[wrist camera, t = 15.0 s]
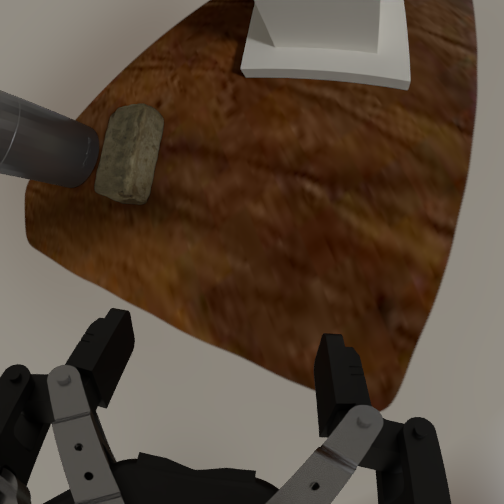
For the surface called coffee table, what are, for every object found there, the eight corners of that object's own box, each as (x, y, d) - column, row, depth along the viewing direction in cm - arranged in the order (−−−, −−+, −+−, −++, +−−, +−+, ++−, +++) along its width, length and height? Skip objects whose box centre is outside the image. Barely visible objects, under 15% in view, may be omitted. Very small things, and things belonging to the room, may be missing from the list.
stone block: (169, 115, 36) (147, 99, 31) (152, 207, 37) (126, 201, 32) (133, 118, 38) (109, 105, 33) (116, 203, 38) (89, 198, 33)
